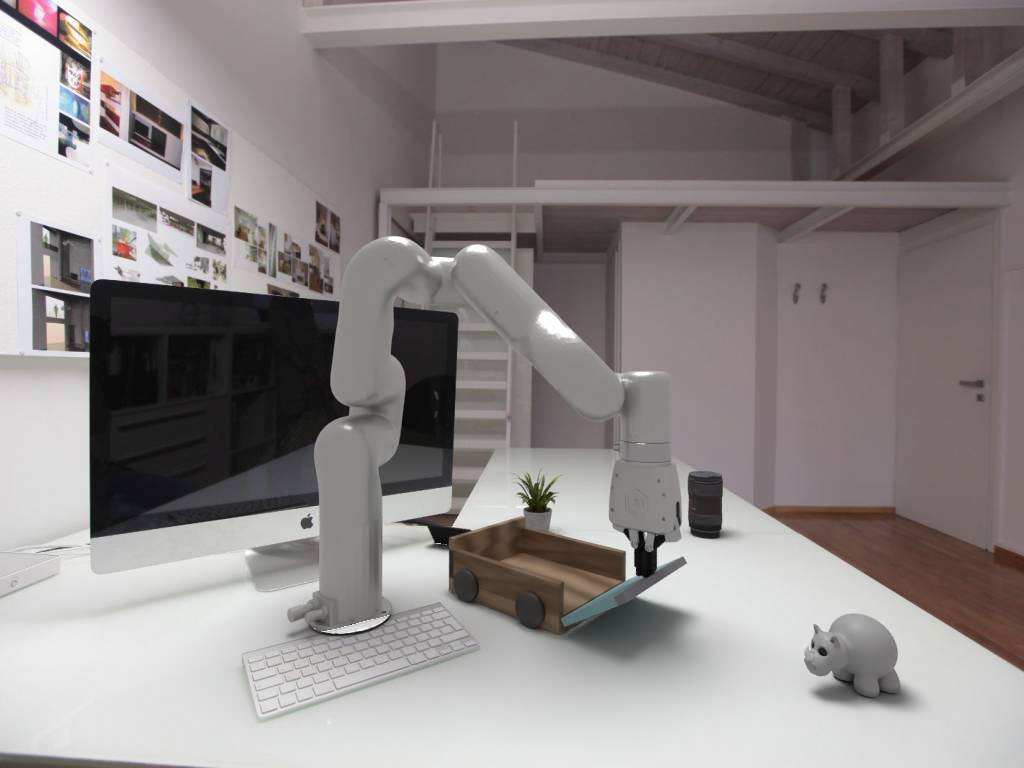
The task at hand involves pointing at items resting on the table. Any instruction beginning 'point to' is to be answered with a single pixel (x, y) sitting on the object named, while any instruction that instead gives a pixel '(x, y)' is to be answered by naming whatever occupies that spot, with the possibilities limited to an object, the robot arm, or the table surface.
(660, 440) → the robot arm
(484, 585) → the hand cart
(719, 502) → the camera lens
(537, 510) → the house plant
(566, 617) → the panel
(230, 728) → the table surface
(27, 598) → the table surface
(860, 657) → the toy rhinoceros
